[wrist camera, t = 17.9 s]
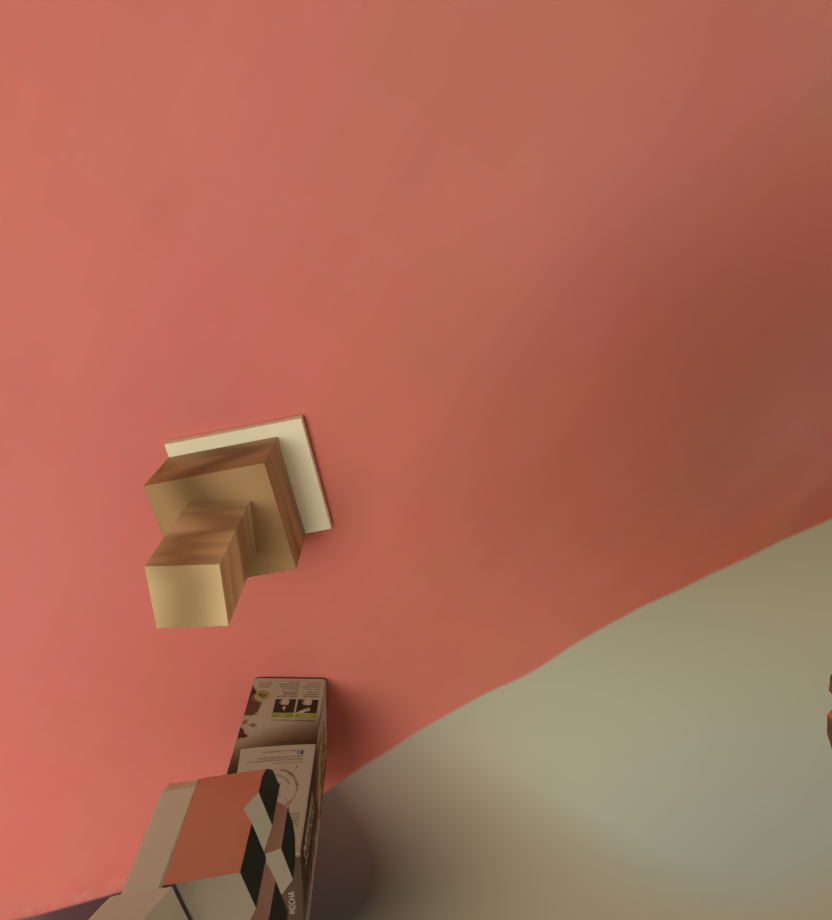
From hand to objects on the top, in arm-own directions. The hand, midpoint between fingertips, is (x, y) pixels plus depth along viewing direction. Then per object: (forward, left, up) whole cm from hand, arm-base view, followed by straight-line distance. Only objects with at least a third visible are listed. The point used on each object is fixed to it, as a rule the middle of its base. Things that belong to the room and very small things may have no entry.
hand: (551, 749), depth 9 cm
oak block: (+16, +10, -31) cm, 36 cm away
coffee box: (+18, +32, -37) cm, 52 cm away
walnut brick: (+16, +10, -36) cm, 41 cm away
